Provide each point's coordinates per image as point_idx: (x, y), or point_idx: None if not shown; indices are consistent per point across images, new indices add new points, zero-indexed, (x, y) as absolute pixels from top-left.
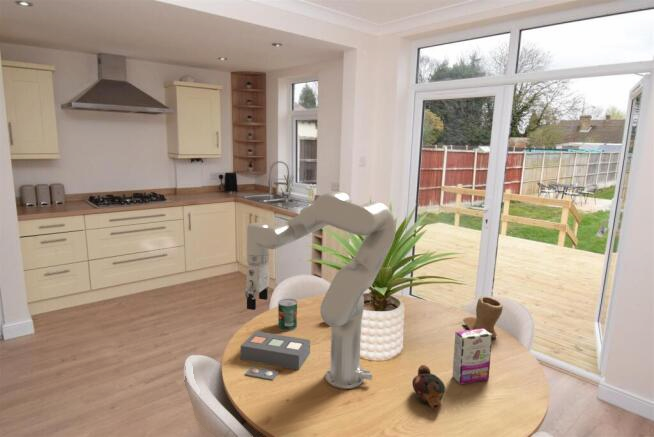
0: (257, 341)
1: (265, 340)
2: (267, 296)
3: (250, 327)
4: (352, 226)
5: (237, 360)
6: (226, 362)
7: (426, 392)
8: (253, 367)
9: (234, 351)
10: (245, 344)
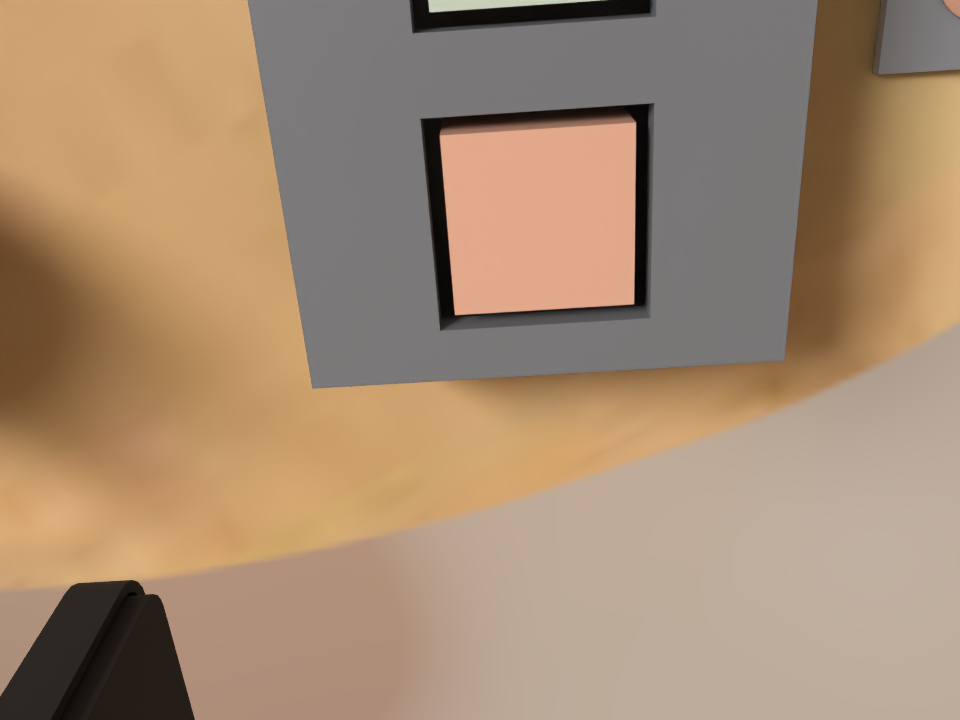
0: (596, 207)
1: (521, 106)
2: (24, 658)
3: (24, 547)
4: None
5: None
6: (826, 387)
7: None
8: (899, 38)
9: (587, 430)
10: (731, 319)
